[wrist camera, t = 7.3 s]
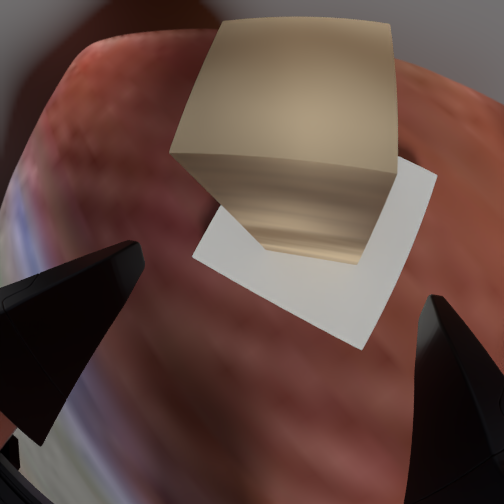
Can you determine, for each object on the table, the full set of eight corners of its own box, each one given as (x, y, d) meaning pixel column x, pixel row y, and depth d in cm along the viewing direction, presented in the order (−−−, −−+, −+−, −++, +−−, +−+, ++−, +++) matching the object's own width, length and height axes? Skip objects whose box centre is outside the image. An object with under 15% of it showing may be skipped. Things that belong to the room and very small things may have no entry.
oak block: (356, 265, 17) (397, 173, 6) (266, 250, 19) (168, 152, 7) (367, 178, 18) (389, 23, 7) (282, 168, 20) (223, 21, 8)
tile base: (427, 189, 19) (437, 175, 17) (358, 346, 19) (361, 350, 16) (283, 128, 23) (277, 110, 21) (206, 263, 22) (191, 256, 20)
